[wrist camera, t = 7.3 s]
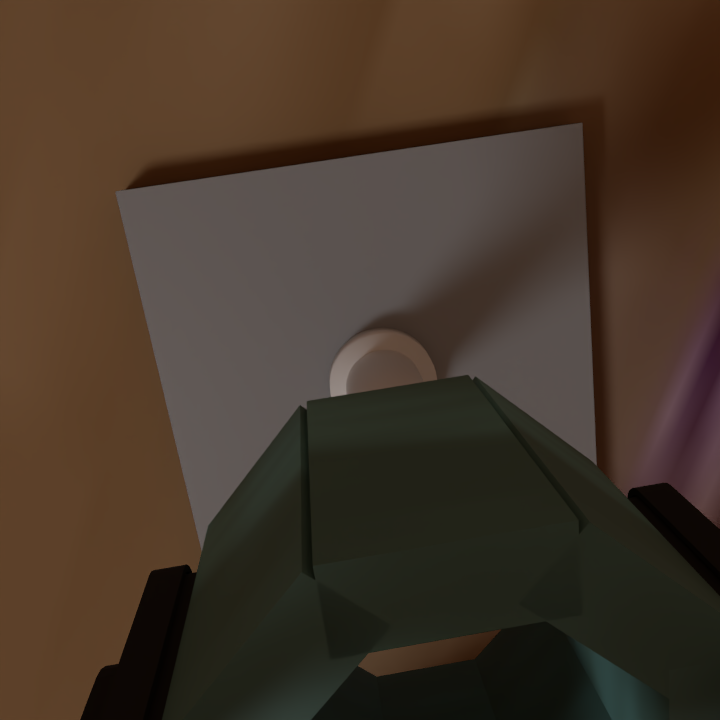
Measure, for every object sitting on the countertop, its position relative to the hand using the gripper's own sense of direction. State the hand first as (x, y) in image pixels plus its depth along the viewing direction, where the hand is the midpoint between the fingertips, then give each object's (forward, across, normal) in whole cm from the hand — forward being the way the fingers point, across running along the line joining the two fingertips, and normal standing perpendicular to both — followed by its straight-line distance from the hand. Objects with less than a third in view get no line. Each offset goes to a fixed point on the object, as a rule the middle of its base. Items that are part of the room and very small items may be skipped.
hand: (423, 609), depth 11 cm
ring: (+1, 0, 0) cm, 1 cm away
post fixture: (+13, -1, 0) cm, 13 cm away
